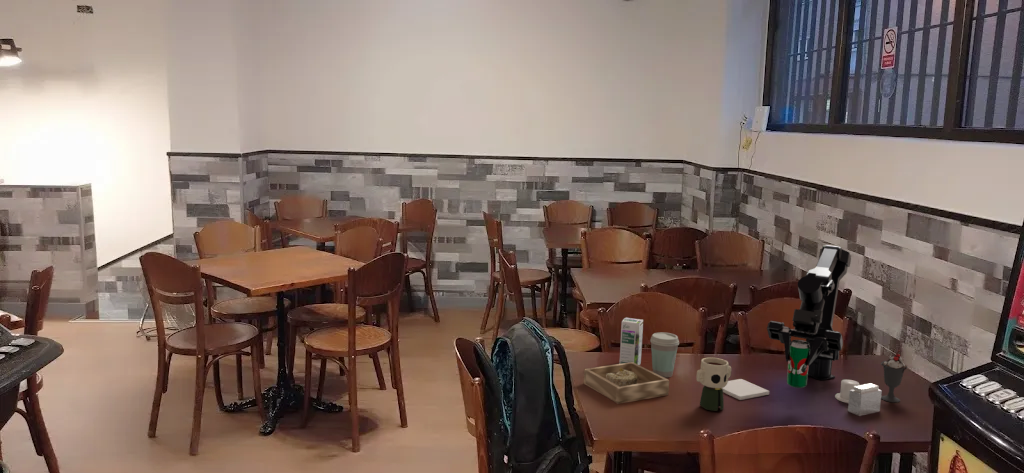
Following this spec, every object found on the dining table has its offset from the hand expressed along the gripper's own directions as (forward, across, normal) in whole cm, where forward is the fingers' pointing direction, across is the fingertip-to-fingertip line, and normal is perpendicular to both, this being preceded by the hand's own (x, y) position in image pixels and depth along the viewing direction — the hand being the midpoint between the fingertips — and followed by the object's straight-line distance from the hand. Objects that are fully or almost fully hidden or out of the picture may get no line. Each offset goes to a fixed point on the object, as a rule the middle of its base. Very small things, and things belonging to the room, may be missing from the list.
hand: (797, 362), depth 200 cm
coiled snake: (+18, -45, 0) cm, 48 cm away
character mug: (+18, -18, +1) cm, 26 cm away
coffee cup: (+6, -39, +14) cm, 42 cm away
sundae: (-8, +20, +28) cm, 36 cm away
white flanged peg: (-4, +11, +23) cm, 26 cm away
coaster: (+5, -16, +14) cm, 22 cm away
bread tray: (+18, -43, 0) cm, 47 cm away
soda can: (+4, 0, +6) cm, 7 cm away
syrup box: (+4, -51, +15) cm, 53 cm away
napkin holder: (+2, +16, +18) cm, 24 cm away
